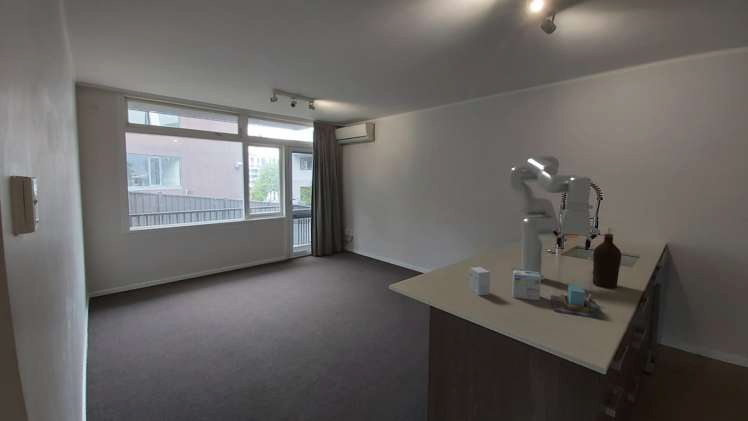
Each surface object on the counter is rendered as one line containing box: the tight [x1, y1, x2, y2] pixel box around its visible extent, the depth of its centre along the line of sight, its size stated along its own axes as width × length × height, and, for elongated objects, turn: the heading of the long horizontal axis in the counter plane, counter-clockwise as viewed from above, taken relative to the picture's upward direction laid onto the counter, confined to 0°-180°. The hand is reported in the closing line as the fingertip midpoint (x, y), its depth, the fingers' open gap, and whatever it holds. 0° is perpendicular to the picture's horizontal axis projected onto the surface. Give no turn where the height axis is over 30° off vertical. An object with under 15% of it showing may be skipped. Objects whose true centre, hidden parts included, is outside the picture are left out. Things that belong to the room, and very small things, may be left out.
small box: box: [468, 266, 491, 297], centre depth 141 cm, size 8×6×10 cm
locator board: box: [550, 293, 605, 320], centre depth 125 cm, size 16×16×4 cm
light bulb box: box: [511, 270, 542, 301], centre depth 136 cm, size 11×7×11 cm, turn 71°
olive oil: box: [592, 233, 622, 290], centre depth 149 cm, size 11×11×25 cm
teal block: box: [567, 284, 586, 307], centre depth 125 cm, size 8×4×7 cm, turn 156°
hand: (572, 247), depth 130 cm, fingers open, 9 cm apart
